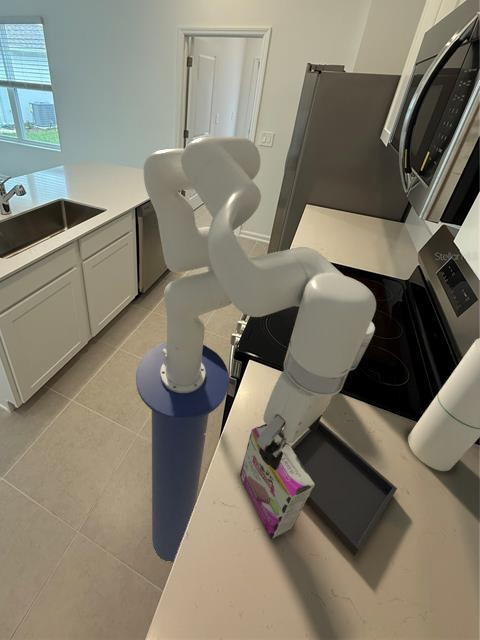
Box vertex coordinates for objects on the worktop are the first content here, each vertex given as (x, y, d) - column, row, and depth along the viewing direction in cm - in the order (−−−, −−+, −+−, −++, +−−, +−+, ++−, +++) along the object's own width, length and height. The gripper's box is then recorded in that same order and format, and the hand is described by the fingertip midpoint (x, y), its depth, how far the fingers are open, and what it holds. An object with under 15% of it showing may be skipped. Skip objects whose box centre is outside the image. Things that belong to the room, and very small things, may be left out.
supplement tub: (316, 350, 93) (329, 312, 86) (340, 344, 96) (356, 307, 89) (339, 376, 85) (356, 337, 78) (365, 368, 88) (384, 330, 81)
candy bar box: (237, 475, 62) (250, 427, 54) (258, 466, 64) (273, 418, 56) (270, 543, 53) (290, 497, 45) (293, 529, 55) (317, 483, 47)
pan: (274, 467, 64) (276, 460, 62) (315, 425, 72) (318, 419, 71) (354, 556, 52) (359, 550, 51) (392, 494, 61) (397, 488, 59)
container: (447, 441, 71) (524, 347, 56) (458, 478, 64) (549, 383, 49) (405, 425, 74) (468, 332, 59) (411, 459, 67) (484, 363, 52)
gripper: (325, 322, 47) (300, 395, 55) (248, 376, 38) (232, 455, 46) (374, 353, 42) (339, 428, 50) (300, 424, 32) (271, 503, 41)
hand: (288, 441), depth 48 cm, fingers open, 9 cm apart
